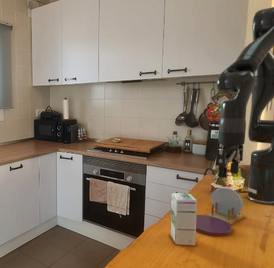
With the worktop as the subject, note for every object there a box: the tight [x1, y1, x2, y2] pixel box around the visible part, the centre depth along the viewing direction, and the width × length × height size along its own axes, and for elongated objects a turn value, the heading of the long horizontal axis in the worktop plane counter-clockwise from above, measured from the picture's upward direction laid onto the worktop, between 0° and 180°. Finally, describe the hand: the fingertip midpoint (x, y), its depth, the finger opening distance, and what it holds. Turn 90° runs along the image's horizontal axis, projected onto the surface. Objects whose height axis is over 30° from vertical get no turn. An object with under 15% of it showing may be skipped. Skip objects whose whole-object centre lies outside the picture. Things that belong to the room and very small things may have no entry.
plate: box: [210, 187, 244, 216], centre depth 98 cm, size 1×10×10 cm, turn 31°
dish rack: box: [206, 202, 245, 226], centre depth 99 cm, size 10×8×5 cm
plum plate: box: [196, 214, 233, 237], centre depth 93 cm, size 13×13×1 cm
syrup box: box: [170, 192, 198, 246], centre depth 84 cm, size 6×6×14 cm
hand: (228, 175), depth 96 cm, fingers open, 8 cm apart
